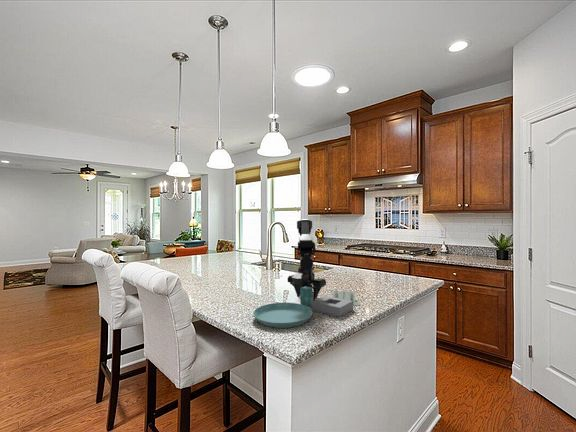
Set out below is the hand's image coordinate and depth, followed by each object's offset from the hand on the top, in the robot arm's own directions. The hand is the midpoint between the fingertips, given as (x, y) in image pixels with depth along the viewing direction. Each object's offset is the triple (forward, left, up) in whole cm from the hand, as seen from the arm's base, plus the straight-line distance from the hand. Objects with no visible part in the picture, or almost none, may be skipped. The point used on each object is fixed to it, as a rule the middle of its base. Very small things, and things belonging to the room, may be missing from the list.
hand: (306, 298), depth 141 cm
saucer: (+3, -21, -3) cm, 22 cm away
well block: (+14, 0, -3) cm, 14 cm away
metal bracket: (+11, +15, -3) cm, 19 cm away
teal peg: (0, 0, -3) cm, 3 cm away
